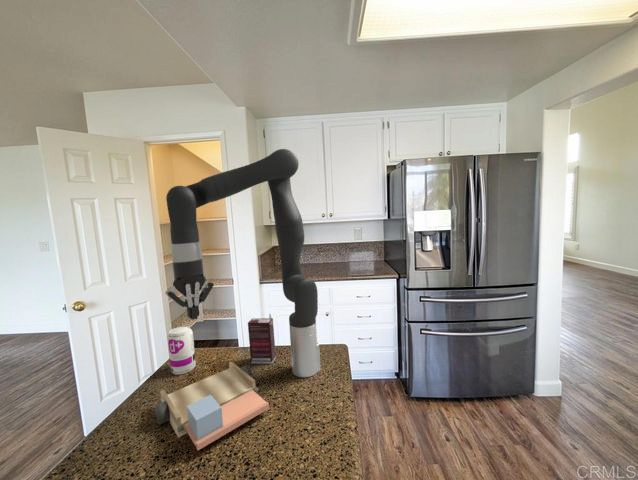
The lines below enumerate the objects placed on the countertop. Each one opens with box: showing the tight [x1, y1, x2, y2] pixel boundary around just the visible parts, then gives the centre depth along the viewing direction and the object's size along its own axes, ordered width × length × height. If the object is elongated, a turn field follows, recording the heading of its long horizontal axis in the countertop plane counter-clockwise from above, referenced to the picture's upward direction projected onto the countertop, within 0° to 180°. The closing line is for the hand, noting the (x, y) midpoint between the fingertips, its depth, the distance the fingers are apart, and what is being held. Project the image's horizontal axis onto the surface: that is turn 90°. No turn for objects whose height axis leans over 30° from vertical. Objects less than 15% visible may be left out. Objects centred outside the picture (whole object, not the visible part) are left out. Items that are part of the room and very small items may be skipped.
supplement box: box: [247, 317, 277, 365], centre depth 104 cm, size 9×5×16 cm, turn 82°
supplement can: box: [167, 325, 197, 376], centre depth 100 cm, size 8×8×15 cm
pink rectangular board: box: [185, 390, 270, 451], centre depth 72 cm, size 19×1×9 cm
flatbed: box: [154, 361, 259, 438], centre depth 81 cm, size 27×18×5 cm, turn 133°
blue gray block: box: [187, 395, 223, 441], centre depth 68 cm, size 6×7×5 cm
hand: (193, 318), depth 78 cm, fingers closed
